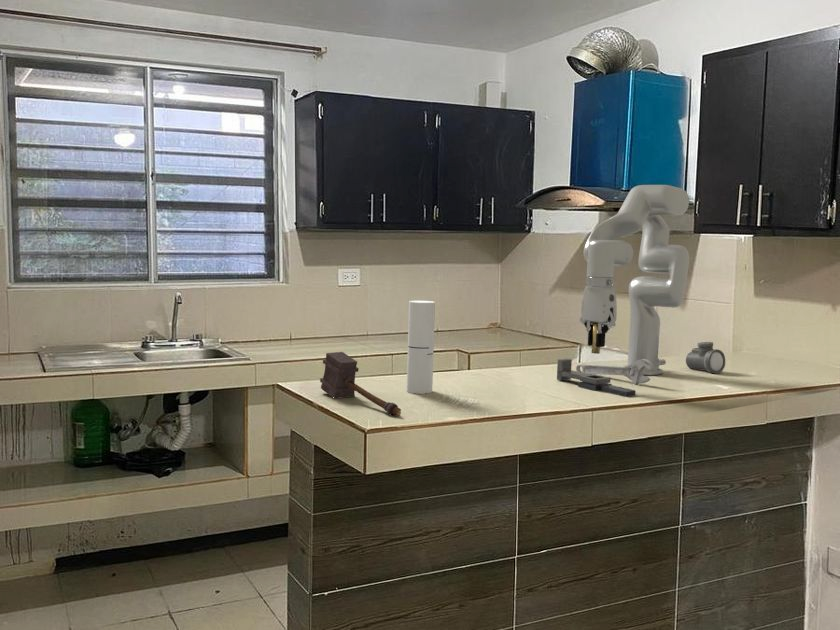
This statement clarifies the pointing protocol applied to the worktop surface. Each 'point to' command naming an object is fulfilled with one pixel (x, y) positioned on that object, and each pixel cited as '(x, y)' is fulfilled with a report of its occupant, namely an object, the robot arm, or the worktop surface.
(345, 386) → the hammer
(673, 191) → the robot arm
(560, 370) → the chain end
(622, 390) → the bar
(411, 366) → the cylindrical container
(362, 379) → the worktop surface
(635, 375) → the wrench
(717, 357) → the pipe fitting
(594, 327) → the pin
